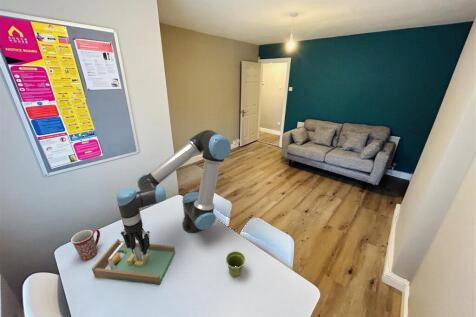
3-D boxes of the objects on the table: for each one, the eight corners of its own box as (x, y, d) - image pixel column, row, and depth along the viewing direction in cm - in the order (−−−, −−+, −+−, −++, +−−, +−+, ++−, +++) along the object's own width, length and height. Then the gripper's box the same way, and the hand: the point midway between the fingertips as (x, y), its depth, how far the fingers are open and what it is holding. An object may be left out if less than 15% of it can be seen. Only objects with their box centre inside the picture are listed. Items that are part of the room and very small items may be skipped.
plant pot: (247, 266, 100) (247, 254, 97) (241, 283, 92) (241, 270, 88) (230, 261, 103) (230, 249, 99) (223, 276, 94) (222, 264, 91)
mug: (86, 264, 99) (78, 245, 94) (74, 259, 102) (66, 239, 97) (109, 246, 110) (103, 227, 105) (97, 241, 113) (91, 223, 108)
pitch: (175, 253, 107) (173, 240, 103) (159, 284, 90) (156, 271, 87) (119, 247, 110) (116, 235, 106) (95, 277, 93) (89, 263, 90)
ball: (114, 253, 104) (123, 255, 104) (109, 264, 101) (118, 265, 100) (110, 251, 100) (119, 253, 100) (105, 262, 97) (114, 263, 97)
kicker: (149, 257, 101) (145, 241, 97) (142, 267, 96) (138, 250, 92) (134, 255, 102) (130, 239, 98) (127, 265, 97) (122, 249, 92)
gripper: (153, 216, 91) (159, 253, 100) (121, 214, 93) (130, 250, 102) (144, 228, 85) (152, 266, 93) (110, 224, 86) (121, 262, 95)
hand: (141, 257), depth 98 cm, fingers closed on kicker, 3 cm apart
